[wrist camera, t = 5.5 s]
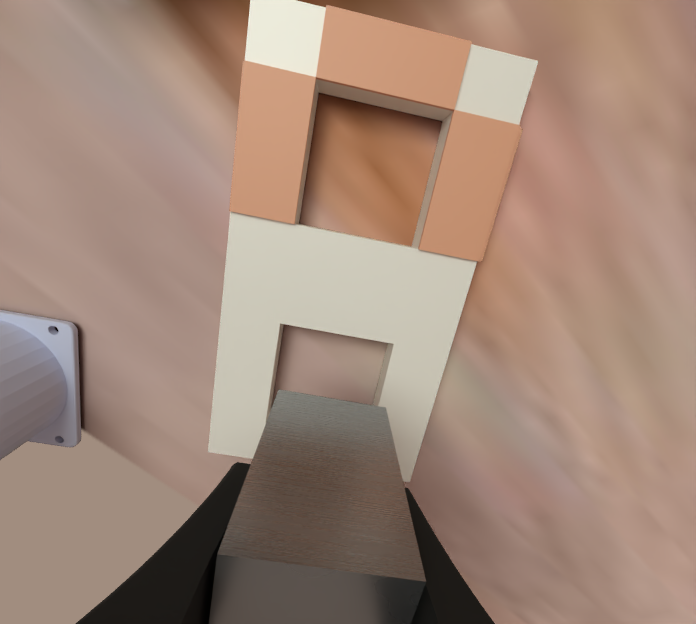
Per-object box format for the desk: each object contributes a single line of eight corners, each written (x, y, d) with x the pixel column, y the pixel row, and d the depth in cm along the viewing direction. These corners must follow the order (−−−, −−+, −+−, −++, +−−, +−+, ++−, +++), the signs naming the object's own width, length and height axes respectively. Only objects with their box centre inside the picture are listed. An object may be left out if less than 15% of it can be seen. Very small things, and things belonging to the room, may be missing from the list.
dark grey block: (264, 478, 13) (200, 691, 7) (278, 389, 12) (217, 554, 6) (363, 493, 13) (379, 708, 7) (385, 407, 12) (426, 582, 6)
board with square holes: (217, 435, 20) (206, 454, 18) (260, 12, 14) (250, -15, 13) (409, 464, 21) (415, 485, 19) (525, 77, 15) (547, 60, 13)
